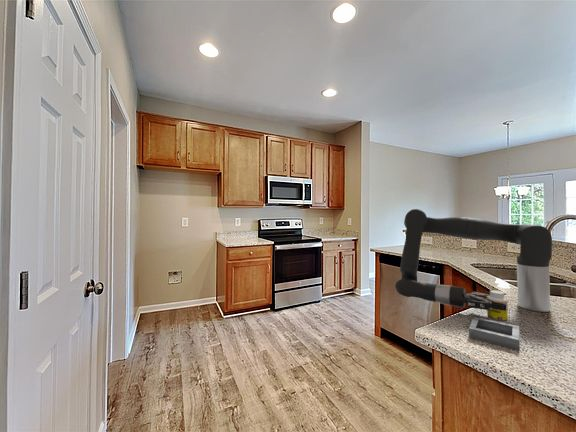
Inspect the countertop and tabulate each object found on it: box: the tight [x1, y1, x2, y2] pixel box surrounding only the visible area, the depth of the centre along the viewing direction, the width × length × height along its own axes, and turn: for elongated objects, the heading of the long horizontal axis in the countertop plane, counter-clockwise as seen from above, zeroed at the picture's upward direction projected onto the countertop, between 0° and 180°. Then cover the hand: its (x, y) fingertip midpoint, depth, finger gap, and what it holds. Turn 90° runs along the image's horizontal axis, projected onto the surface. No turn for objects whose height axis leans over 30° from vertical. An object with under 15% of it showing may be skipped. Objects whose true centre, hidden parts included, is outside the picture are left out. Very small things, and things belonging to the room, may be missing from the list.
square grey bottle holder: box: [468, 316, 521, 352], centre depth 78 cm, size 11×11×3 cm
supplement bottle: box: [486, 289, 509, 324], centre depth 89 cm, size 6×6×10 cm
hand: (506, 305), depth 88 cm, fingers closed on supplement bottle, 5 cm apart
